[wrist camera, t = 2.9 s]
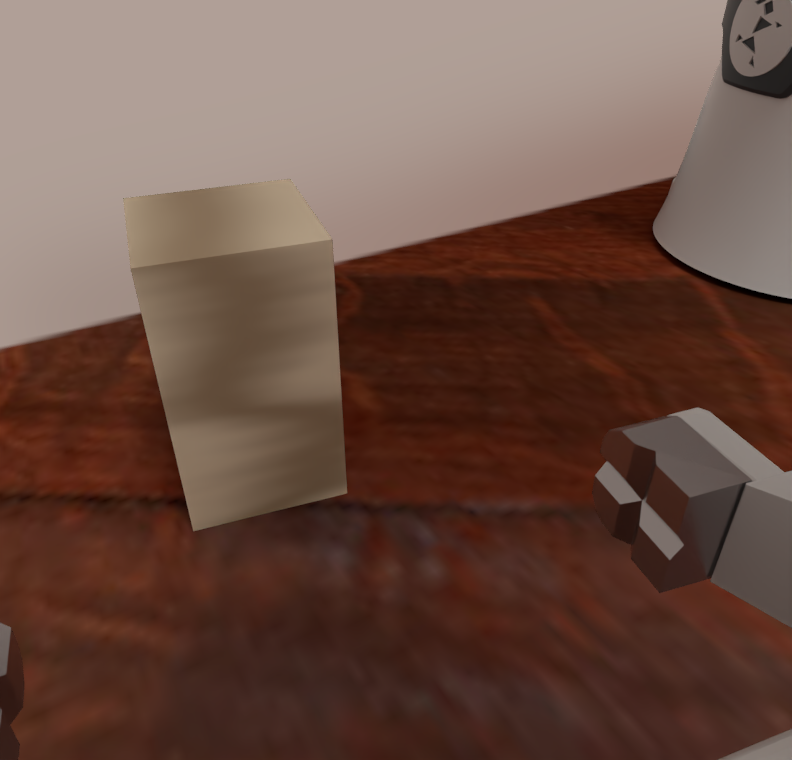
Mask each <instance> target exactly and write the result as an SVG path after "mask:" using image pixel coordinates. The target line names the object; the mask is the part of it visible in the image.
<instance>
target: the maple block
mask: <svg viewBox="0 0 792 760" xmlns="http://www.w3.org/2000/svg"><path fill="white" fill-rule="evenodd" d="M123 199H124V210H125V218H126V229H127V238H128V248H129V257H130V267H131V272H132V276H133V280H134V285H135V289H136V293H137V297H138V301H139V305H140V310H141V314H142V318H143V322H144V326H145V331H146V335H147V339H148V343H149V347H150V352H151V356H152V360H153V364H154V368H155V373H156V377H157V381H158V385H159V389H160V394H161V398H162V402H163V406H164V410H165V415H166V419H167V423H168V427H169V431H170V436H171V440H172V444H173V448H174V452H175V456H176V461H177V465H178V469H179V473H180V477H181V482H182V486H183V490H184V494H185V498H186V503H187V507H188V511H189V515H190V519H191V524H192V528H193V531H197V530H201V529H205V528H209V527H213V526H217V525H221V524H225V523H229V522H233V521H237V520H241V519H245V518H249V517H253V516H258V515H262V514H266V513H270V512H274V511H278V510H282V509H286V508H290V507H294V506H298V505H302V504H306V503H310V502H314V501H318V500H322V499H326V498H330V497H335V496H339V495H343V494H347V480H346V463H345V446H344V429H343V412H342V395H341V378H340V361H339V344H338V327H337V310H336V293H335V276H334V259H333V242H332V238H331V237H330V235H329V234H328V232H327V231H326V230H325V228H324V227H323V225H322V224H321V223H320V221H319V219H318V218H317V217H316V215H315V214H314V212H313V211H312V209H311V208H310V207H309V205H308V204H307V202H306V201H305V199H304V198H303V197H302V195H301V194H300V192H299V191H298V189H297V188H296V187H295V185H294V184H293V182H292V181H291V179H285V180H277V181H268V182H259V183H250V184H242V185H234V186H225V187H216V188H209V189H200V190H192V191H183V192H174V193H165V194H157V195H148V196H139V197H131V198H123Z"/></svg>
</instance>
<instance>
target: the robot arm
mask: <svg viewBox="0 0 792 760" xmlns="http://www.w3.org/2000/svg"><path fill="white" fill-rule="evenodd" d="M722 26H723V44H722V57H721V61H720V64H719V66H718V68H717V69H716V72H715V74H714V77H713V79H712V82H711V85H710V87H709V90H708V93H707V96H706V98H705V101H704V104H703V107H702V110H701V112H700V115H699V118H698V121H697V124H696V127H695V129H694V132H693V135H692V138H691V141H690V143H689V146H688V149H687V152H686V154H685V157H684V160H683V162H682V164H681V167H680V169H679V172H678V174H677V176H676V177H675V178H674V179H673V181H672V184H671V187H670V190H669V193H668V196H667V198H666V200H665V202H664V204H663V206H662V208H661V210H660V211H659V213H658V215H657V217H656V219H655V220H654V223H653V233H654V235H655V238H656V239H657V241H658V242H659V243H660V245H661V246H662V247H663V248H664V249H665V250H667V251H668V252H669V253H670V254H672V255H673V256H674V257H676V258H677V259H679V260H680V261H682V262H684V263H685V264H687V265H689V266H691V267H693V268H695V269H697V270H699V271H701V272H703V273H705V274H708V275H710V276H712V277H715V278H717V279H720V280H723V281H725V282H728V283H731V284H734V285H737V286H741V287H744V288H747V289H751V290H754V291H758V292H762V293H766V294H770V295H775V296H779V297H785V298H790V299H792V0H728V1H727V6H726V10H725V14H724V18H723V22H722ZM600 453H601V454H602V456H603V457H604V459H605V460H606V463H605V464H604V465H603V466H602V468H601V469H600V470H599V471H598V473H597V474H596V475H595V479H594V485H593V491H592V494H593V499H594V504H595V509H596V512H597V514H598V516H599V518H600V520H601V522H602V524H603V525H604V526H605V528H606V529H607V530H608V531H609V533H610V534H611V535H612V536H613V537H615V538H617V539H619V540H621V541H624V542H626V543H628V544H630V545H631V559H632V561H633V562H634V563H635V564H636V565H637V567H638V568H639V569H640V570H641V571H642V573H643V574H644V575H645V576H646V577H647V578H648V580H649V581H650V582H651V583H652V584H653V586H654V587H655V588H656V589H657V590H658V592H659V593H661V592H665V591H668V590H672V589H675V588H679V587H682V586H685V585H689V584H692V583H696V582H699V581H703V580H706V579H710V578H711V580H710V582H712V583H714V584H716V585H717V586H719V587H721V588H723V589H724V590H726V591H728V592H730V593H731V594H733V595H735V596H737V597H738V598H740V599H742V600H744V601H746V602H747V603H749V604H751V605H753V606H754V607H756V608H758V609H760V610H761V611H763V612H765V613H767V614H768V615H770V616H772V617H774V618H775V619H777V620H779V621H781V622H782V623H784V624H786V625H788V626H789V627H791V628H792V471H789V472H783V471H782V470H781V469H780V468H779V467H777V466H776V465H775V464H774V463H772V462H771V461H770V460H769V459H767V458H766V457H765V456H764V455H762V454H761V453H760V452H759V451H758V450H756V449H755V448H754V447H753V446H751V445H750V444H749V443H748V442H746V441H745V440H744V439H743V438H741V437H740V436H739V435H738V434H736V433H735V432H734V431H733V430H732V429H730V428H729V427H728V426H727V425H725V424H724V423H723V422H722V421H720V420H719V419H718V418H717V417H715V416H714V415H713V414H712V413H711V412H709V411H707V410H704V409H701V408H694V409H690V410H686V411H682V412H678V413H674V414H670V415H668V416H664V417H659V418H655V419H651V420H647V421H643V422H639V423H635V424H631V425H627V426H623V427H619V428H615V429H611V430H609V431H608V433H607V434H606V435H605V437H604V438H603V441H602V445H601V450H600ZM23 699H24V674H23V662H22V657H21V653H20V649H19V646H18V642H17V639H16V637H15V635H14V633H13V631H12V628H11V627H9V626H6V625H4V624H2V623H0V760H18V757H19V747H20V744H19V742H18V740H17V738H16V736H15V734H14V732H13V730H12V728H11V726H10V724H11V723H12V722H13V720H14V719H15V718H16V716H17V715H18V714H19V712H20V711H21V710H22V708H23ZM718 760H792V729H790V730H788V731H785V732H783V733H780V734H778V735H776V736H773V737H771V738H768V739H766V740H763V741H761V742H759V743H756V744H754V745H751V746H749V747H747V748H744V749H742V750H739V751H737V752H734V753H732V754H730V755H727V756H725V757H722V758H720V759H718Z"/></svg>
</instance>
